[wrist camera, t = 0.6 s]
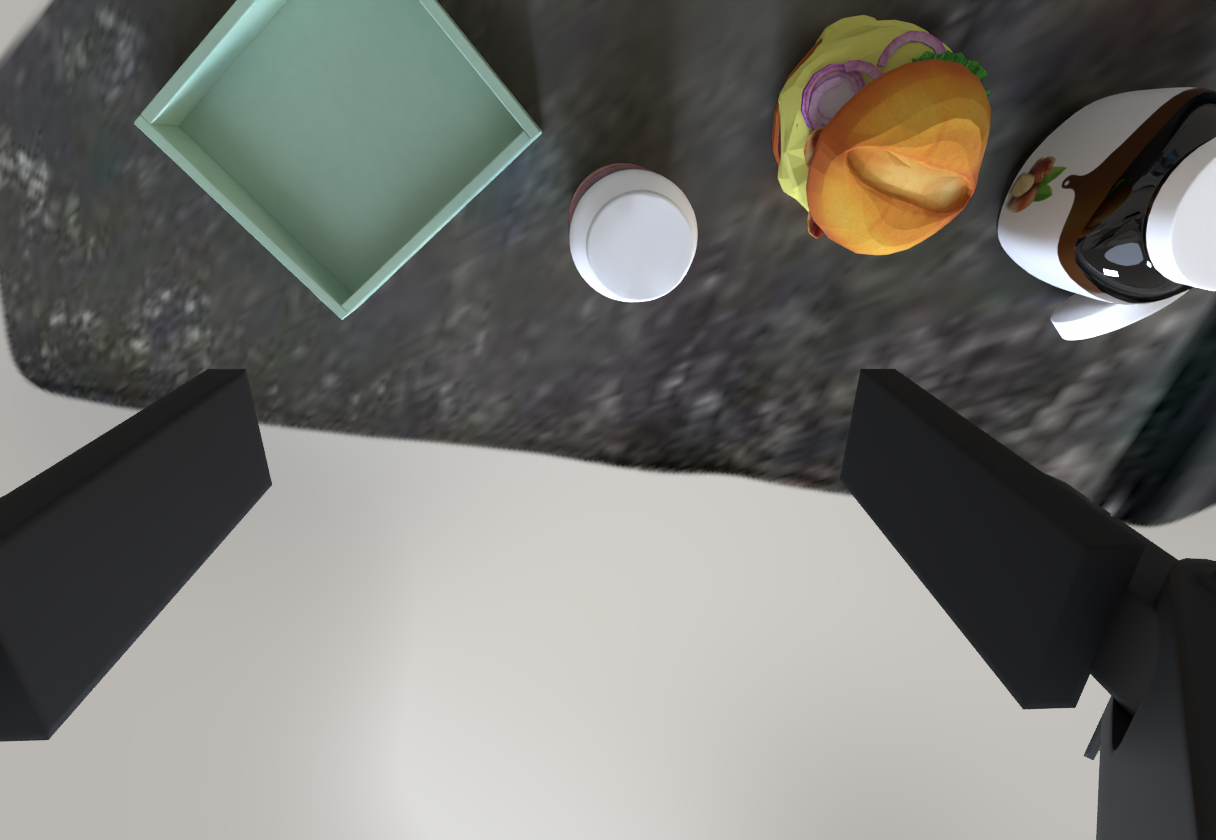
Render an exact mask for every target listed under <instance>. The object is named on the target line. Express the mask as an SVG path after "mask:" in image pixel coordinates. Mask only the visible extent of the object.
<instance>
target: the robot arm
mask: <svg viewBox="0 0 1216 840" xmlns="http://www.w3.org/2000/svg"><path fill="white" fill-rule="evenodd" d="M840 480H841V481H842V482H843V484H844V485H845V486H846V487H847V489H848V490H849V491H850V492H851V494H852V495H853V496H854V497H855V499H856V500H857V501H858V502H859V504H860V505H861V506H862V507H863V509H864V510H865V511H866V512H867V514H868V515H869V516H870V517H871V519H872V520H873V521H874V522H875V524H876V525H877V526H878V527H879V529H880V530H881V531H882V533H883V534H884V535H885V536H886V537H887V539H888V540H889V541H890V542H891V544H892V545H893V546H894V548H895V549H896V550H897V551H898V553H899V554H900V555H901V556H902V558H903V559H904V560H905V561H906V563H908V565H909V566H910V568H911V569H912V570H913V571H914V573H915V574H916V575H917V576H918V578H919V579H920V580H921V581H922V583H923V584H924V585H925V586H926V588H927V589H928V590H929V591H930V593H931V594H932V595H933V596H934V598H935V599H936V600H937V601H938V603H939V604H940V605H941V606H942V608H943V609H944V610H945V612H946V613H947V614H948V615H949V617H950V618H951V619H952V620H953V622H954V623H955V624H956V625H957V627H958V628H959V629H960V630H961V632H962V633H963V634H964V635H965V637H966V638H967V639H968V640H969V642H970V643H971V644H972V645H973V647H974V648H975V649H976V651H977V652H978V653H979V654H980V655H981V657H982V658H983V659H984V661H985V662H986V663H987V664H988V666H989V667H990V668H991V669H992V671H993V672H994V673H995V674H996V676H997V677H998V678H999V679H1000V681H1001V682H1002V683H1003V684H1004V686H1005V687H1006V688H1007V689H1008V691H1009V692H1010V693H1011V694H1012V696H1013V697H1014V698H1015V700H1016V701H1017V702H1018V703H1019V704H1020V706H1021V707H1022V708H1023V709H1047V708H1075V707H1076V705H1077V703H1078V700H1079V698H1080V696H1081V693H1082V691H1083V689H1084V686H1085V684H1086V682H1087V679H1088V677H1089V675H1090V674H1091V675H1092V676H1093V677H1094V678H1095V679H1096V680H1097V681H1098V682H1099V683H1100V684H1101V685H1102V686H1103V687H1104V688H1105V689H1106V690H1107V691H1108V692H1109V693H1110V694H1111V698H1110V700H1109V702H1108V704H1107V706H1106V708H1105V711H1104V713H1103V715H1102V717H1101V719H1100V721H1099V724H1098V726H1097V728H1096V730H1095V732H1094V734H1093V737H1092V739H1091V741H1090V743H1089V745H1088V748H1087V749H1086V752H1085V754H1084V756H1085V757H1087V758H1090V759H1092V760H1094V758H1095V756H1096V755H1097V753H1098V751H1100V767H1099V789H1098V812H1097V834H1096V840H1216V561H1212V560H1208V559H1191V558H1186V559H1182V560H1177V559H1176V558H1174V557H1173V556H1171V555H1170V554H1168V553H1167V552H1165V551H1164V550H1163V549H1161V548H1160V547H1158V546H1157V545H1155V544H1154V543H1153V542H1151V541H1149V540H1148V539H1147V538H1145V537H1144V536H1142V535H1141V534H1139V533H1138V532H1136V531H1135V530H1134V529H1132V528H1131V527H1129V526H1128V525H1126V524H1125V523H1124V522H1122V521H1121V520H1119V519H1118V518H1116V517H1111V516H1110V513H1109V512H1108V511H1106V510H1105V509H1103V508H1102V507H1100V506H1099V505H1097V504H1096V503H1090V499H1089V498H1087V497H1086V496H1084V495H1083V494H1081V493H1080V492H1078V491H1077V490H1076V489H1074V488H1073V487H1071V486H1070V485H1068V484H1067V483H1065V482H1063V481H1061V480H1059V479H1056V478H1054V477H1052V476H1050V475H1047V474H1045V473H1043V472H1041V471H1039V470H1038V469H1036V468H1035V467H1034V466H1032V465H1031V464H1029V463H1028V462H1027V461H1025V460H1024V459H1022V458H1021V457H1019V456H1018V455H1017V454H1015V453H1014V452H1012V451H1011V450H1009V449H1008V448H1007V447H1005V446H1004V445H1002V444H1001V443H999V442H998V441H997V440H995V439H994V438H992V437H991V436H989V435H988V434H987V433H985V432H984V431H982V430H981V429H979V428H978V427H977V426H975V425H974V424H972V423H971V422H969V421H968V420H967V419H965V418H964V417H962V416H961V415H960V414H958V413H957V412H955V411H954V410H952V409H951V408H950V407H948V406H947V405H945V404H944V403H942V402H941V401H940V400H938V399H937V398H935V397H934V396H932V395H931V394H930V393H928V392H927V391H925V390H924V389H922V388H921V387H920V386H918V385H917V384H915V383H914V382H912V381H911V380H910V379H908V378H907V377H905V376H904V375H903V374H901V373H900V372H898V371H897V370H895V369H861V370H860V376H859V381H858V386H857V391H856V397H855V402H854V407H853V412H852V418H851V423H850V428H849V434H848V439H847V444H846V449H845V455H844V460H843V465H842V470H841V476H840ZM271 485H272V482H271V478H270V474H269V469H268V465H267V461H266V456H265V452H264V447H263V443H262V438H261V434H260V429H259V425H258V421H257V416H256V412H255V407H254V403H253V399H252V394H251V390H250V385H249V381H248V376H247V372H246V369H207V370H206V371H204V372H203V373H201V374H199V375H198V376H196V377H195V378H193V379H191V380H190V381H188V382H187V383H185V384H183V385H182V386H180V387H179V388H177V389H175V390H174V391H172V392H170V393H169V394H167V395H166V396H164V397H162V398H161V399H159V400H158V401H156V402H154V403H153V404H151V405H150V406H148V407H146V408H145V409H143V410H142V411H140V412H138V413H137V414H135V415H134V416H132V417H130V418H129V419H127V420H125V421H124V422H122V423H121V424H119V425H118V426H116V427H114V428H113V429H111V430H109V431H108V432H106V433H105V434H103V435H101V436H100V437H98V438H97V439H95V440H93V441H92V442H90V443H89V444H87V445H85V446H84V447H82V448H81V449H79V450H77V451H76V452H74V453H73V454H71V455H69V456H68V457H66V458H64V459H63V460H61V461H60V462H58V463H56V464H55V465H53V466H52V467H50V468H49V469H47V470H45V471H44V472H42V473H40V474H39V475H37V476H36V477H34V478H32V479H31V480H29V481H28V482H26V483H24V484H23V485H21V486H19V487H18V488H16V489H15V490H13V491H11V492H10V493H8V494H7V495H5V496H3V497H1V498H0V741H29V740H49V739H50V738H51V736H52V735H53V734H54V733H55V731H57V729H58V728H59V727H60V726H61V725H62V724H63V723H64V721H65V720H66V719H67V718H68V717H69V716H70V715H71V714H72V712H73V711H74V710H75V709H76V708H77V707H78V706H79V704H80V703H81V702H82V701H83V700H84V698H85V697H86V696H87V695H88V694H89V693H90V692H91V691H92V689H93V688H94V687H95V686H96V685H97V684H98V683H99V682H100V680H101V679H102V678H103V677H104V676H105V675H106V674H107V672H108V671H109V670H110V669H111V668H112V667H113V666H114V664H115V663H116V662H117V661H118V660H119V659H120V657H121V656H122V655H123V654H124V653H125V652H126V651H127V650H128V648H129V647H130V646H131V645H132V644H133V642H135V641H136V639H137V638H138V637H139V636H140V635H141V634H142V633H143V631H144V630H145V629H146V628H147V627H148V626H149V624H150V623H151V622H152V621H153V620H154V619H155V618H156V617H157V615H158V614H159V613H160V612H161V611H162V610H163V609H164V607H165V606H166V605H167V604H168V603H169V602H170V601H171V599H172V598H173V597H174V596H175V595H176V594H177V593H178V591H179V590H180V589H181V588H182V587H183V586H184V585H185V584H186V582H187V581H188V580H189V579H190V578H191V576H193V574H194V573H195V572H196V571H197V570H198V569H199V568H200V566H201V565H202V564H203V563H204V562H205V560H206V559H207V558H208V557H209V556H210V555H211V554H212V553H213V552H214V550H215V549H216V548H217V547H218V546H219V545H220V544H221V542H222V541H223V540H224V539H225V538H226V537H227V535H228V534H229V533H230V532H231V531H232V530H233V529H234V528H235V526H236V525H237V524H238V523H239V522H240V521H241V520H242V518H243V517H244V516H245V515H246V514H247V513H248V511H249V510H250V509H251V508H252V507H253V506H254V505H255V504H256V502H257V501H258V500H259V499H260V498H261V497H262V495H263V494H264V493H265V492H266V491H267V490H268V489H269V488H270V486H271Z"/></svg>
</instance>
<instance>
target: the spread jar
mask: <svg viewBox="0 0 1216 840" xmlns="http://www.w3.org/2000/svg"><path fill="white" fill-rule="evenodd" d="M996 227H997V234H998V237H999V240H1000V243H1001V245H1002V247H1003V249H1004V250H1005V251H1006V253H1007V254H1008V255H1009V256H1010V257H1011V258H1012V259H1013V260H1014V261H1015V262H1016V263H1017V264H1018V265H1019V266H1020V267H1022V268H1023V269H1024V270H1026V271H1027V272H1028V273H1030V274H1031V275H1033V276H1035V277H1036V278H1038V279H1040V280H1042V281H1044V282H1047V283H1049V284H1051V285H1053V286H1056V287H1059V288H1061V289H1064V290H1067V291H1070V292H1073V293H1076V294H1074V295H1073V296H1071V297H1070V298H1068V299H1067V300H1066V301H1064V302H1063V303H1062V304H1061V305H1059V306H1058V307H1057V308H1056V309H1055V310H1054V311H1053V313H1052V314H1051V317H1050V320H1051V321H1052V323H1053V324H1054V326H1055V327H1056V329H1057V331H1058V332H1059V334H1060V335H1061V337H1062V338H1063V339H1066V340H1081V339H1086V338H1091V337H1095V336H1098V335H1102V334H1105V333H1108V332H1111V331H1114V330H1117V329H1119V328H1122V327H1124V326H1127V325H1129V324H1132V323H1134V322H1136V321H1138V320H1140V319H1143V318H1145V317H1147V316H1149V315H1151V314H1153V313H1154V312H1156V311H1158V310H1160V309H1162V308H1163V307H1165V306H1167V305H1168V304H1170V303H1172V302H1173V301H1175V300H1176V299H1178V298H1179V297H1180V296H1182V295H1183V294H1184V293H1186V292H1187V291H1188V290H1189V289H1191V288H1193V287H1197V288H1202V289H1206V290H1210V291H1216V91H1213V90H1209V89H1204V88H1192V87H1182V88H1163V89H1151V90H1140V91H1132V92H1125V93H1120V94H1116V95H1112V96H1109V97H1105V98H1103V99H1100V100H1097V101H1095V102H1093V103H1091V104H1089V105H1087V106H1085V107H1084V108H1082V109H1080V110H1079V111H1077V112H1076V113H1074V114H1073V115H1071V116H1069V117H1068V118H1066V119H1065V120H1064V121H1062V122H1061V123H1060V124H1058V125H1057V126H1056V127H1055V128H1054V129H1052V130H1051V131H1050V132H1049V133H1047V134H1046V135H1045V136H1044V137H1043V138H1042V139H1041V140H1039V141H1038V142H1037V143H1036V144H1035V145H1034V146H1033V147H1032V148H1031V149H1030V151H1029V152H1028V153H1027V154H1026V155H1025V156H1024V158H1023V159H1022V160H1021V161H1020V163H1019V164H1018V166H1017V167H1016V169H1015V170H1014V172H1013V174H1012V175H1011V177H1010V179H1009V181H1008V183H1007V185H1006V188H1005V190H1004V192H1003V195H1002V198H1001V201H1000V205H999V210H998V215H997V226H996Z"/></svg>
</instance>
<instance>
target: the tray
mask: <svg viewBox="0 0 1216 840" xmlns="http://www.w3.org/2000/svg"><path fill="white" fill-rule="evenodd" d="M134 124H135V125H136V126H137V127H138V128H139V129H140V130H142V131H143V132H144V133H145V134H146V135H147V136H148V137H149V138H150V139H151V140H152V141H153V142H154V143H155V144H156V145H157V146H158V147H160V148H161V149H162V150H163V151H164V152H165V153H166V154H167V155H168V156H169V157H170V158H171V159H172V160H173V161H174V162H175V163H176V164H178V165H179V166H180V167H181V168H182V169H183V170H184V171H185V172H186V173H187V174H188V175H189V176H190V177H191V178H192V179H193V180H194V181H195V182H197V183H198V184H199V185H200V186H201V187H202V188H203V189H204V190H205V191H206V192H207V193H208V194H209V195H210V196H211V197H212V198H213V199H215V200H216V201H217V202H218V203H219V204H220V205H221V206H222V207H223V208H224V209H225V210H226V211H227V212H228V213H229V214H230V215H231V216H233V217H234V218H235V219H236V220H237V221H238V222H239V223H240V224H241V225H242V226H243V227H244V228H245V229H246V230H247V231H248V232H249V233H250V234H252V235H253V236H254V237H255V238H256V239H257V240H258V241H259V242H260V243H261V244H262V245H263V246H264V247H265V248H266V249H267V250H268V251H270V252H271V253H272V254H273V255H274V256H275V257H276V258H277V259H278V260H279V261H280V262H281V263H282V264H283V265H284V266H285V267H286V268H288V269H289V270H290V271H291V272H292V273H293V274H294V275H295V276H296V277H297V278H298V279H299V280H300V281H301V282H302V283H303V284H304V285H306V286H307V287H308V288H309V289H310V290H311V291H312V292H313V293H314V294H315V295H316V296H317V297H318V298H319V299H320V300H321V301H322V302H323V303H325V304H326V305H327V306H328V307H329V308H330V309H331V310H332V311H333V312H334V313H335V314H336V315H337V316H338V317H339V318H340V319H344V318H345V317H347V316H348V315H349V314H350V313H352V312H353V311H354V310H356V309H357V308H358V307H359V306H360V305H361V304H363V303H364V302H365V301H366V300H367V299H368V298H369V297H370V296H371V295H372V294H373V293H374V292H375V291H376V290H377V289H378V288H379V287H380V286H382V285H383V284H384V283H385V282H386V281H387V280H388V279H389V278H390V277H391V276H392V275H393V274H394V273H395V272H396V271H397V270H398V269H399V268H400V267H402V266H403V265H404V264H405V263H406V262H407V261H408V260H409V259H410V258H411V257H412V256H413V255H414V254H415V253H416V252H417V251H418V250H419V249H421V248H422V247H423V246H424V245H425V244H426V243H427V242H428V241H429V240H430V239H431V238H432V237H433V236H434V235H435V234H436V233H437V232H438V231H440V230H441V229H442V228H443V227H444V226H445V225H446V224H447V223H448V222H449V221H450V220H451V219H452V218H453V217H454V216H455V215H456V214H457V213H459V212H460V211H461V210H462V209H463V208H464V207H465V206H466V205H467V204H468V203H469V202H470V201H471V200H472V199H473V198H474V197H475V196H476V195H478V194H479V193H480V192H481V191H482V190H483V189H484V188H485V187H486V186H487V185H488V184H489V183H490V182H491V181H492V180H493V179H494V178H495V177H496V176H498V175H499V174H500V173H501V172H502V171H503V170H504V169H505V168H506V167H507V166H508V165H509V164H510V163H511V162H512V161H513V160H514V159H515V158H517V157H518V156H519V155H520V154H521V153H522V152H523V151H524V150H525V149H526V148H527V147H528V146H529V145H530V144H531V143H532V142H533V141H534V140H536V139H537V138H538V137H539V136H540V135H541V134H542V130H541V129H540V128H539V127H538V125H537V124H536V123H535V122H534V120H533V119H532V118H531V117H530V115H529V114H528V113H527V112H526V110H525V109H524V108H523V107H522V105H521V104H520V103H519V102H518V100H517V99H516V98H515V97H514V95H513V94H512V93H511V92H510V90H509V89H508V88H507V87H506V85H505V84H504V83H503V82H502V80H501V79H500V78H499V77H498V75H497V74H496V73H495V72H494V70H493V69H492V68H491V67H490V65H489V64H488V63H487V62H486V60H485V59H484V58H483V57H482V55H481V54H480V53H479V52H478V50H477V49H476V48H475V47H474V45H473V44H472V43H471V42H470V40H469V39H468V38H467V37H466V35H465V34H464V33H463V32H462V30H461V29H460V28H459V27H458V25H457V24H456V23H455V22H454V20H453V19H452V18H451V17H450V15H449V14H448V13H447V12H446V10H445V9H444V8H443V7H442V5H441V4H440V3H439V2H438V0H236V2H235V3H234V4H233V5H232V6H231V7H230V9H229V10H228V11H227V12H226V13H225V15H224V16H223V17H222V18H221V19H220V21H219V22H218V23H217V24H216V25H215V26H214V28H213V29H212V30H211V31H210V32H209V34H208V35H207V36H206V37H205V38H204V39H203V41H202V42H201V43H200V44H199V45H198V47H197V48H196V49H195V50H194V51H193V53H192V54H191V55H190V56H189V57H188V58H187V60H186V61H185V62H184V63H183V64H182V66H181V67H180V68H179V69H178V70H177V71H176V73H175V74H174V75H173V76H172V77H171V79H170V80H169V81H168V82H167V83H166V85H165V86H164V87H163V88H162V89H161V90H160V92H159V93H158V94H157V95H156V96H155V98H154V99H153V100H152V101H151V102H150V103H149V105H148V106H147V107H146V108H145V109H144V111H143V112H142V113H141V115H140V116H139V117H138V118H137V119H136V120H135V122H134Z"/></svg>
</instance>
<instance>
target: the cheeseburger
mask: <svg viewBox="0 0 1216 840" xmlns="http://www.w3.org/2000/svg"><path fill="white" fill-rule="evenodd" d="M987 74H988V72H985V70H984V69H983V67H982V66H981V65H980V63H979V62H978V61H972V60H967V59H966V58H965V57H964V55H963V54H962V53H956V54H953V53H952V51H951V50H950V49H949V48H948V46H946V45H945V44H943V43H942V42H941V40H939V39H937V38H936V37H934V36H932V35H931V34H929V32H928V31H926V30H924V29H922V28H920V27H918V26H916V25H914V24H912V23H907V22H903V21H898V20H880V21H877V20H876V19H875V18H873V17H869V16H866V15H859V16H853V17H847V18H842V19H840V20H839V21H837V22H835V23H833V24H831V25H829V26H828V27H826V28H825V30H824V31H823V33H822V34H821V36H820V37H819V38H818V40H817V41H816V43H815V46H813V47H812V48H811V49H810V50H809V51H808V53H807V54H806V55H805V56H804V57H803V59H802V60H801V61H800V62H799V63H798V65H797V66H796V67H795V68H794V70H793V71H792V72H791V73H790V74H789V76H788V77H787V79H786V82H785V84H784V87H783V89H782V90H781V92H780V95H779V99H778V102H777V104H776V107H775V109H774V116H773V129H772V143H771V146H772V149H773V152H774V155H775V158H776V161H777V164H778V180H779V182H780V185H781V187H782V190H783V191H784V192H785V193H787V194H788V195H790V196H792V197H793V198H795V199H796V200H797V201H798V202H799V203H800V204H801V205H802V206H803V207H805V209H806V210H807V211H808V219H807V223H808V231H809V233H810V234H811V235H812V236H813V237H815V238H817V239H818V238H820V237H822V236H823V234H824V233H825V234H826V235H827V237H828V238H829V239H831V240H833V241H835V242H837V243H838V244H840V245H842V246H844V247H846V248H848V249H849V250H851V251H853V252H855V253H859V254H870V255H888V254H892V253H895V252H899V251H902V250H906V249H909V248H910V247H912V246H914V245H916V244H918V243H920V242H922V241H923V240H925V239H927V238H928V237H930V236H931V235H933V234H934V233H936V232H937V231H938V230H940V229H941V228H942V227H944V226H945V225H946V224H947V223H949V222H950V221H951V220H952V219H953V218H954V217H956V216H957V215H958V214H959V213H960V212H961V211H962V210H963V209H964V208H965V206H966V205H967V203H968V202H969V200H970V199H971V197H972V195H973V193H974V191H975V188H976V185H977V181H978V174H979V170H980V166H981V163H982V159H983V156H984V152H985V149H986V145H987V141H988V136H989V130H990V120H991V108H990V105H989V102H988V94H989V93H990V90H989V89H984V87H983V86H982V84H981V80H982V79H983V78H984V77H985V76H986V75H987Z"/></svg>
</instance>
